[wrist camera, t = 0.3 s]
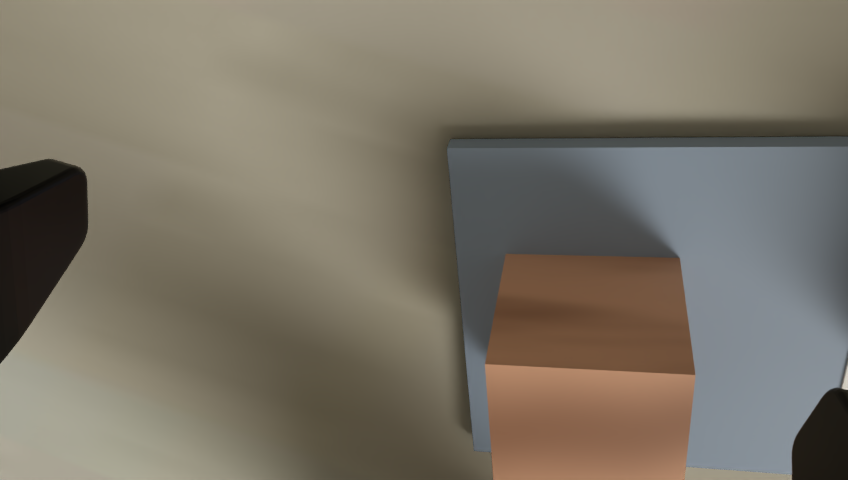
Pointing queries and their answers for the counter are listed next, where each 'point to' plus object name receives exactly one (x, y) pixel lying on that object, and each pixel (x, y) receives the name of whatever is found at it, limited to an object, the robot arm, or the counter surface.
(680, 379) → the terracotta block
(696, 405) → the board
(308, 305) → the counter surface
